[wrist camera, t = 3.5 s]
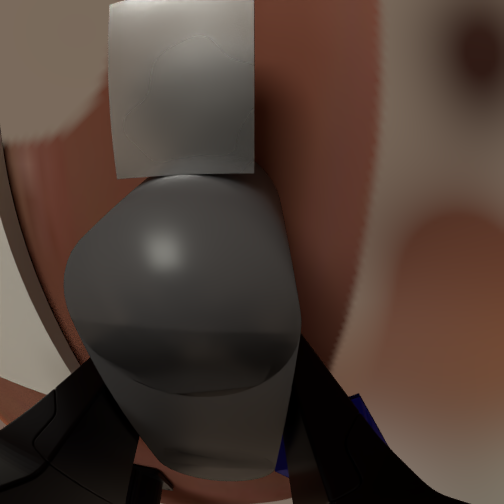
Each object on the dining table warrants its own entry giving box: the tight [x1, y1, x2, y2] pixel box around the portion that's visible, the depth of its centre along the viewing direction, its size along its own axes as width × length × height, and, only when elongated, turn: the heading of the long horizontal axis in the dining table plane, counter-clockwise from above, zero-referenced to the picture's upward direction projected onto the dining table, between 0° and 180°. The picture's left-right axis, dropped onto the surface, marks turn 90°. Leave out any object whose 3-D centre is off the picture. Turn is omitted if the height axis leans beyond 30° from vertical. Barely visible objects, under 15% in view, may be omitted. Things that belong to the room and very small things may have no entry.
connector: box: [64, 0, 301, 481], centre depth 6 cm, size 4×12×4 cm, turn 0°
